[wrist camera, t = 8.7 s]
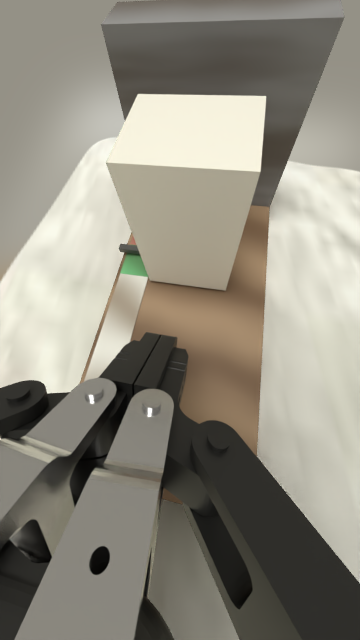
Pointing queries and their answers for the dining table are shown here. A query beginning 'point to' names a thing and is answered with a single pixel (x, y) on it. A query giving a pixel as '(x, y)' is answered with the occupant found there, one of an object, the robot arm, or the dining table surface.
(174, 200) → the block
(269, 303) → the dining table surface
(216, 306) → the base
